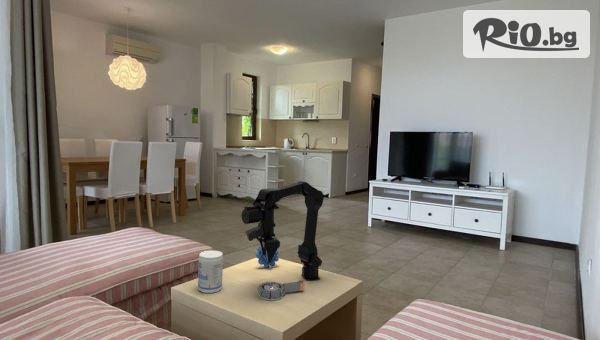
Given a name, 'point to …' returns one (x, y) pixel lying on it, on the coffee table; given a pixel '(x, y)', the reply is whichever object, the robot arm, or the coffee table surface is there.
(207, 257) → the supplement tub
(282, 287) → the grey octagonal frying pan
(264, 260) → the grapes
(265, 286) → the grey metal bowl
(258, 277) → the coffee table surface
